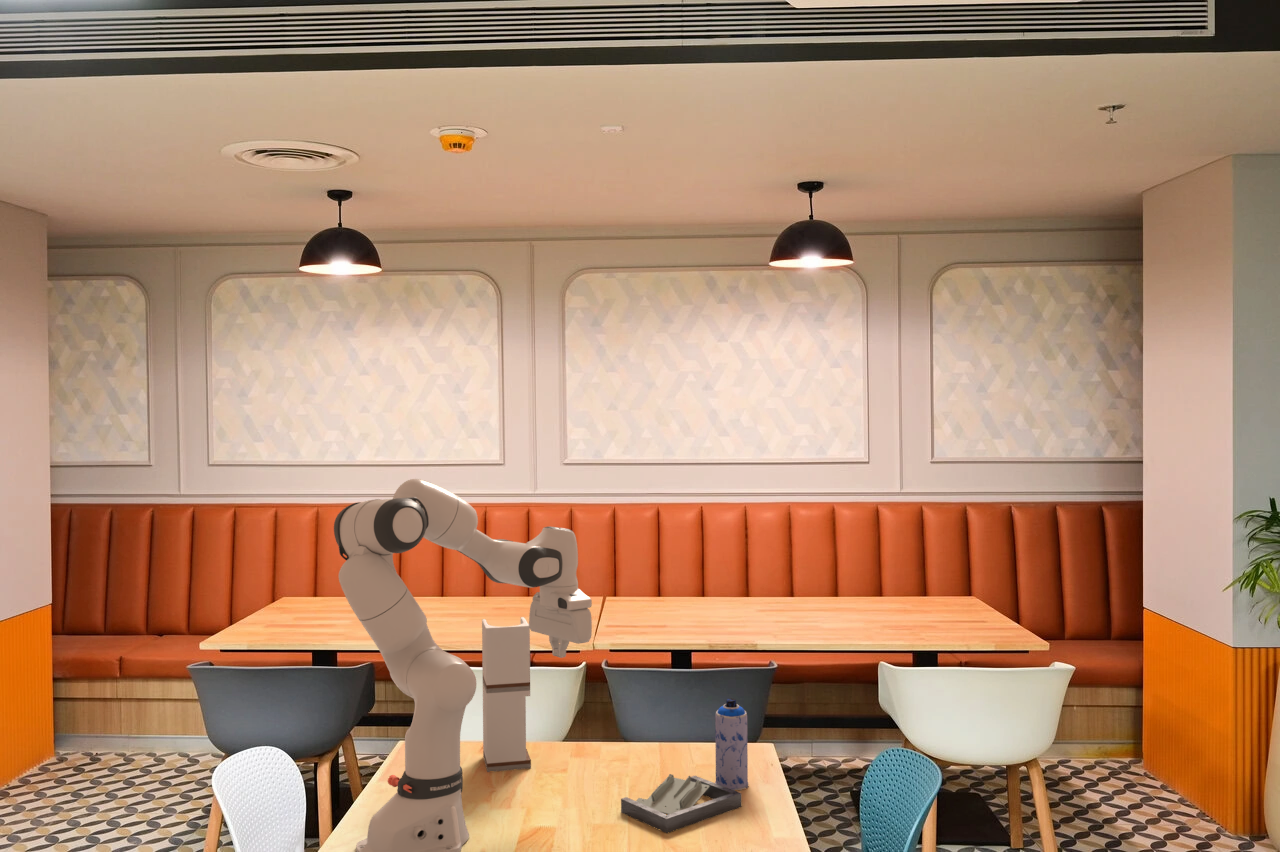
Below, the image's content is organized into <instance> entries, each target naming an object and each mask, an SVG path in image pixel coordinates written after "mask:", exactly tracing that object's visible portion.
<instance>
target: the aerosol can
mask: <svg viewBox="0 0 1280 852" xmlns="http://www.w3.org/2000/svg"><path fill="white" fill-rule="evenodd" d="M747 713H748V712H747V711H746V710H745V709H744V708H743V707H742V706H740V705H739V704H738V703H737V699H735V698H727V699H726V703H725V704H723V705H722V706H720V707H719V708H718V709H717V710H716V711H715V716H714V717H715V719H714V720H715V723H714V724H715V725H714V726H715V732H714V733H715V782H714V783H716V784H718V785H721V786H724V787H726V788H729V789H731V790H734V791H735V790H740V791H743V790H742V789H744V790H745V788H746V789H748V788H749V786H748V785H750V784H749V782H748V780H749V779H748V778H749V775H748V773H749V772H748V770H749V769H748V765H749V764H748V761H749V760H748V714H747Z"/></svg>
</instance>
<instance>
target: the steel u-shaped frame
mask: <svg viewBox="0 0 1280 852" xmlns="http://www.w3.org/2000/svg"><path fill="white" fill-rule="evenodd" d="M690 777H691V781H692V782H696V781H697V780H699V781H701V784H705V785H709V788H708V789H707V791H706V792H705V793H704V794H703V795H702V796H705V797H707V798H709V797H710V799H711V800H707V801H704V802H702V803H698V804H695V805H694V806H692V807H689V808H686V809H683V810H680V811H677V812H675V813H672V814H669V815H666V814H664V813H662V812H659V811H657V810H655V809H652V808H650V807H648V806H646V805H643V804H641V803H639V802H636V800H634V799H631V798H629V797H627V796H626V797H623V798H620V813H621V814H623V815H626V816H628V817H630V818H632V819H634V820H636V819H637V820H636V821H639V822H641V823H643V824H646V825H647V826H649V827H651V828H654V827H655V829H656V828H657V829H656V830H658V829H660V830H661V832H662V833H665V832H666V834H669V833H671V831H672V832H674V831H677V830H676V829H678V830H681V829H682V828H685V827H688V826H691V825H694V824H698V823H700V822H702V821H703V822H704V821H705V820H708V819H711V818H714V817H717V816H719V815H723V814H725V813H728V812H730V811H733V810H736V809H739V807H740V808H742V807H743V806H742V804H743V803H742V793H741V792H739V791H734V790H731V789H729V788H726V787H724V786H721V785H718V784H716V783H715V782H712V781H710V780H708V779H705V778H704V777H703V778H702V777H700V776H697V775H692V776H690ZM706 788H707V787H706ZM660 830H659V831H660ZM673 830H674V831H673ZM668 832H669V833H668Z"/></svg>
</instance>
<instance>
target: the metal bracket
mask: <svg viewBox="0 0 1280 852" xmlns="http://www.w3.org/2000/svg"><path fill="white" fill-rule="evenodd" d="M691 777H692V776H691V775H689V776H687V777H686V779H684V778H683V779H682V778H678V777H674V774H671V773H670V774H669V775H668V776H667V778H665V779H664V780H663V781H662V782H661V783H660V784H659V785H658V786H657V787H656V789H654V791H653V792H652V793H651V795H650V796H648V798H646V799H645V798H642V797H641V798H640V797H638V798H637V799H636V800H635V801H636V802H639V803H641V804H643V805H646V806H648V807H650V808H652V809H655V810H657V811H659V812H662V813H664V814H667V815H669V814H672V813H675V812H677V811H680V810H683V809H686V808H689V807H692V806H695V805H696V803H697V802H699V800H700V799H701V798H702V797H703V796H704V795H703V794H704V793H705V792H706V791H707V789H708V788H709V785H705V784H701V781H699V780H697V781H696V782H692V781H691ZM706 787H707V788H706Z"/></svg>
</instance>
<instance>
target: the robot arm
mask: <svg viewBox="0 0 1280 852" xmlns="http://www.w3.org/2000/svg"><path fill="white" fill-rule="evenodd" d="M478 517H479V516H478V514H477V510H476V509H475V508H474V507H473V506H472V505H471V504H470V503H469V502H468V501H466V500H465V499H464V498H462V497H461V496H459V495H457V494H455V493H453V492H452V491H450V490H448V489H446V488H444V487H442V486H440V485H438V484H435V483H432V482H429V481H426V480H423V479H421V478H410V479H408V480H406V481H404V482H403V483H402V484H400V485H399V486H398V488H397V489H396V491H394V494H393V496H392V498H389V499H388V498H387V499H386V498H385V499H382V498H381V499H379V498H375V499H370V500H365V501H361V502H360V501H357V502H354V503H352V504H349V505H347V506H346V507H344V508H343V509H342V510H341V511H340V512H338V514H337V515H336V518H335V520H334V524H333V534H334V539H335V542H336V545H337V546H338V553H339V555H340V557H342V558H343V559H344V560H345V562H343V564H342V565H341V567H340V569H339V571H338V581H339V584H340V587H341V590H342V592H343V594H344V596H345V598H346V600H347V602H348V604H349V606H350V607H351V610H352V611H353V613H354V614H355V616H356V617H357V619H358V621H359V622H360V623H361V625H362V626H363V628H364V629H365V631H366V632H367V634H368V635H369V637H370V638H371V639H372V641H373V642H374V644H375V646H376V647H377V649H378V650H379V652H380V654H381V657H382V659H383V661H384V662H385V665H386V667H387V670H388V671H389V675H390V678H391V680H392V681H393V682H394V684H395V685H396V687H397V688H398V689H399V691H401V692H402V693H403V694H404V695H406V696H408V697H410V698H411V699H413V702H414V711H413V717H412V722H411V724H410V726H409V727H408V728H407V730H406V731H405V732H406V733H405V736H404V757H405V758H404V763H405V764H404V766H405V768H404V771H403V772H402V773H403V774H402V775H401V777H398V776H396V775H395V774H391V775H389V776H388V777H389V778H388V777H387V784H388V785H389V786H391V787H393V788H397V789H396V791H397V792H395V794H394V795H393V796H391V798H390V799H389V800H388V801H387V802H386V803H385V804H384V805H382V807H381V808H380V809H378V811H376V813H374V814H373V815H372V817H371V819H370V820H369V825H368V829H367V835H366V836H367V838H364V839H362V840H359V841H358V842H356V847H355V852H461V851H462V847H463V846H464V844H465V843H466V842H467V841H468V840H469V837H470V834H469V831H468V826H467V824H466V819H465V814H464V809H463V808H464V807H463V800H462V797H463V796H462V793H463V786H464V782H463V768H462V766H461V731H462V724H463V719H464V715H465V711H466V708H467V706H468V705H469V704H470V702H471V701H472V700H473V698H474V696H475V694H476V691H477V677H476V674H475V672H474V671H473V670H472V668H471V667H470V666H469V665H468V664H467V663H466V662H465V661H464V660H463V659H462V658H460V657H458V656H457V655H454V654H452V653H450V652H447V651H445V650H443V649H442V648H441V647H440V646H439V645H438V644H437V643H436V641H435V640H434V638H433V636H432V634H431V632H430V629H429V627H428V624H427V622H428V620H427V619H428V617H427V616H426V614H425V612H424V611H423V610H422V608H421V606H420V605H419V603H418V602H417V600H416V599H415V597H414V596H413V594H412V592H411V591H410V590H409V588H408V587H407V585H406V583H405V582H404V580H403V579H402V578H401V577H400V575H399V574H398V573H397V569H396V567H395V564H394V559H393V556H394V554H402V553H405V552H407V551H411V550H412V549H414V548H415V547H416V546H417V545H419V544H420V542H421V541H422V539H423V538H424V539H425V540H427V541H429V542H431V543H433V544H436V545H438V546H441V547H442V548H446V549H449V550H454V551H457V552H458V553H461V554H462V555H463V556H465V557H467V558H468V559H470V560H472V561H474V562H475V563H476V564H478V566H479V567H480V569H481V570H482V571H483V573H484V574H485V575H486V577H487V578H488V579H489V580H490V581H492V582H494V583H497V584H508V585H513V586H518V587H525V588H531V589H532V588H533V589H534V588H539V591H537V592H536V593H535V594H534V595H533V597H532V601H531V603H530V608H529V616H528V617H529V619H528V624H529V627H530V632H534V633H536V634H537V633H538V634H541V635H545V636H548V641H549V643H550V646H551V648H552V649H551V650H552V656H553V657H557V658H562V659H564V658H566V657H567V649H568V647H569V644H570V643H573V644H578V645H579V644H585V643H589V641H590V640H591V638H592V635H593V634H592V632H593V630H592V629H593V621H592V620H593V619H592V612H591V611H590V609H589V608H592V605H593V602H592V598H591V597H590V596H588V595H587V594H585V593H584V592H583V591H582V590H581V589H580V588H579V582H578V576H577V570H578V566H579V553H578V552H579V549H578V542H577V537H576V534H575V532H574V531H573V530H572V529H570V528H565V527H557V526H556V527H555V526H544V527H543V528H542V529H541V531H540V533H539V534H538V535H536V536H535V537H534V538H532V539H531V540H529V541H527V542H526V543H524V542H519V541H513V540H508V539H503V538H502V539H501V538H499V539H498V538H497V539H494V538H491V537H490V536H488V535H487V534H485V533H483V532H482V531H480V530H478V529H477V527H478V524H479V519H478Z"/></svg>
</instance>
